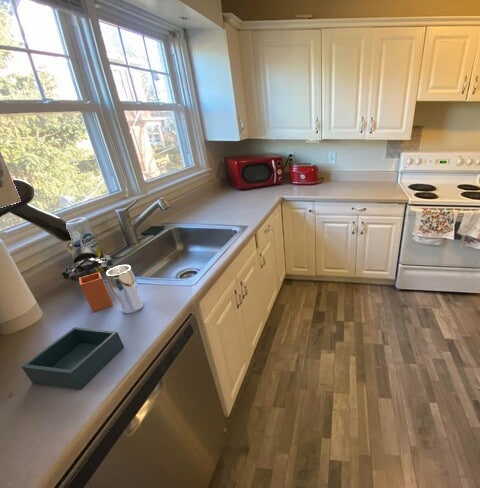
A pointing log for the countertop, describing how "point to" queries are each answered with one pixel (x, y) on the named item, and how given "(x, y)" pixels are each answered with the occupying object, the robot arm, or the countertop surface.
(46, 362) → the big bin
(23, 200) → the robot arm
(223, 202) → the countertop surface
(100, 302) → the small bin
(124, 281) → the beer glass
